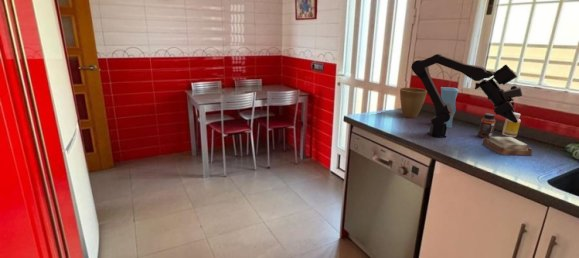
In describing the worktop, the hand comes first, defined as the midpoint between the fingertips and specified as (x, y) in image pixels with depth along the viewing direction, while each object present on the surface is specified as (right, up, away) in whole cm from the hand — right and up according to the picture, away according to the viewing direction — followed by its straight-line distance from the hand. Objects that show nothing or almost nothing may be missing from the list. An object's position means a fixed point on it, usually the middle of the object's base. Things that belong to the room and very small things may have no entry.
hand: (516, 121), depth 134 cm
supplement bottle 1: (-1, -7, +21) cm, 22 cm away
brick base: (-1, -12, +5) cm, 13 cm away
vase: (-13, -1, +38) cm, 40 cm away
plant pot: (-25, +4, +54) cm, 60 cm away
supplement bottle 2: (-1, -6, +3) cm, 7 cm away
